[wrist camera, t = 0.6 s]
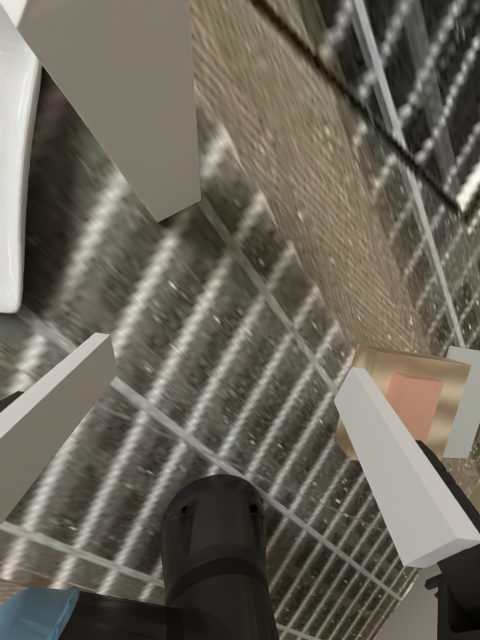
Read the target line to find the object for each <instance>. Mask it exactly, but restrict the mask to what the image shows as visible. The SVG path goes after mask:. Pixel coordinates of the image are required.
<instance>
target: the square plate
mask: <svg viewBox="0 0 480 640" xmlns="http://www.w3.org/2000/svg"><path fill="white" fill-rule="evenodd" d="M41 72H42V64H41V63H40V61H39V60H38V58H37V57H36V56H35V54H34V53H33V52H32V50H31V49H30V48H29V46H28V45H27V43H26V42H25V41H24V39H23V38H22V37H21V35H20V34H19V32H18V31H17V29H16V28H15V26H14V25H13V23H12V21H11V20H10V18H9V16H8V15H7V13H6V11H5V10H4V8H3V6H2V5H1V3H0V313H16V312H18V311H19V309H20V306H21V302H22V293H23V274H24V256H25V226H26V206H27V192H28V178H29V168H30V157H31V148H32V139H33V132H34V125H35V119H36V112H37V105H38V98H39V92H40V83H41Z"/></svg>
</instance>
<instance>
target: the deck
mask: <svg viewBox="0 0 480 640" xmlns="http://www.w3.org/2000/svg"><path fill="white" fill-rule="evenodd" d="M352 367H355V368H362V369H366V371H367V372H368V373H369V375H370V376H371V378H372V379H373V381H374V382H375V384H376V385H377V386H378V388H379V389H380V391H381V392H382V394H383V395H384V397H385V398H386V396H387V392H388V388H389V385H390V381H391V377H392V374H393V372H398V373H406V374H414V375H422V376H429V377H431V378H434V379H437V380H439V381H442V382H444V385H443V388H442V391H441V394H440V398H439V401H438V404H437V408H436V411H435V414H434V418H433V421H432V424H431V427H430V431H429V434H428V437H427V441H426V444H425V445H426V446H427V447H428V448H429V449H430V450H431V451H433V452H434V453H435V454H436V456H437V457H438V459H439V460H440V461H441V460H442V457H443V454H444V450H445V447H446V444H447V441H448V438H449V435H450V431H451V428H452V425H453V422H454V419H455V416H456V413H457V409H458V406H459V403H460V400H461V397H462V394H463V390H464V387H465V384H466V381H467V378H468V375H469V371H470V368H471V365H469V364H466V363H462V362H459V361H455V360H452V359H448V358H445V357H441V356H434V355H428V354H421V353H414V352H408V351H401V350H394V349H388V348H381V347H375V346H368V345H361V344H357V348H356V352H355V356H354V360H353V364H352ZM334 441H335V442H336V443H337V444H338V445H339V447H340V448H341V449H342V450H343V451H344V453H345V454H346V455H347V456H348V457H349V458H350V460H359V459H358V457H357V455H356V452H355V450H354V447H353V445H352V443H351V440H350V438H349V436H348V433H347V431H346V428H345V426H344V424H343V421H342V419H341V417H339V421H338V425H337V429H336V433H335V437H334Z"/></svg>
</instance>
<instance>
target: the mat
mask: <svg viewBox="0 0 480 640" xmlns="http://www.w3.org/2000/svg"><path fill="white" fill-rule="evenodd" d="M446 358H448V359H452V360H455V361H459V362H462V363H466V364H469V365H471V368H470V371H469V375H468V378H467V381H466V384H465V387H464V390H463V394H462V397H461V400H460V403H459V406H458V409H457V413H456V416H455V419H454V422H453V425H452V428H451V431H450V435H449V438H448V441H447V444H446V447H445V450H444V454H443V458H468V456H469V453H470V450H471V447H472V444H473V441H474V438H475V435H476V432H477V429H478V426H479V423H480V351H479V350H473V349H466V348H460V347H454V346H449V349H448V352H447V356H446Z"/></svg>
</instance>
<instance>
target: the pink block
mask: <svg viewBox="0 0 480 640" xmlns="http://www.w3.org/2000/svg"><path fill="white" fill-rule="evenodd" d="M443 385H444V382H442V381H439V380H437V379H434V378H431V377H429V376H422V375H414V374H406V373H398V372H393V374H392V377H391V381H390V385H389V388H388V392H387V396H386V399H387V401H388V402H389V404H390V405H391V407H392V408H393V410H394V411H395V412H396V414H397V415H398V417H399V418H400V420H401V421H402V423H403V424H404V425H405V427H406V428H407V430H408V431H409V433H410V434H411V436H412V437H413V438H414V440H421V441H422V442H423V443H424V444H426V441H427V437H428V434H429V431H430V427H431V424H432V421H433V418H434V414H435V411H436V408H437V404H438V401H439V398H440V394H441V391H442V388H443Z"/></svg>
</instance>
